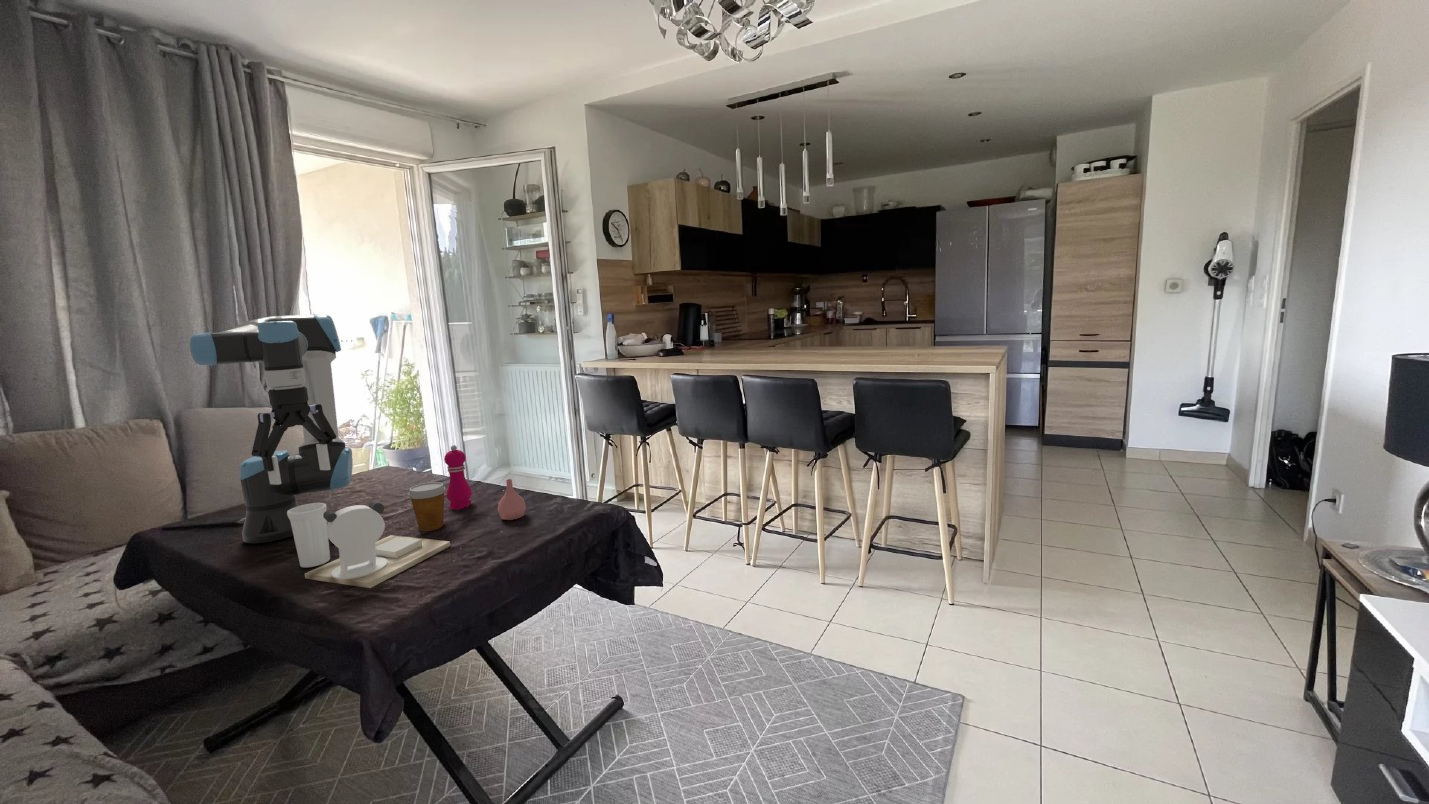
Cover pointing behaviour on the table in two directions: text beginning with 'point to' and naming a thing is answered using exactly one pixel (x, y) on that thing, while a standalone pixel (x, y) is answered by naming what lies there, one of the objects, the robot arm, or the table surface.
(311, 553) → the cup
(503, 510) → the pink bulbous piece
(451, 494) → the pepper mill
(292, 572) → the table surface
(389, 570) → the board
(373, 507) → the panda figurine
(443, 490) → the disposable coffee cup
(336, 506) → the table surface
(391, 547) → the tile
